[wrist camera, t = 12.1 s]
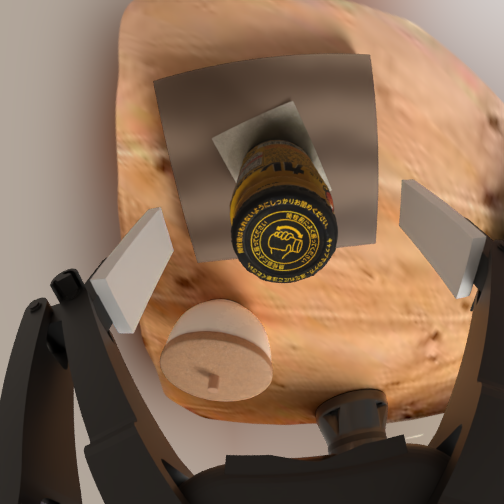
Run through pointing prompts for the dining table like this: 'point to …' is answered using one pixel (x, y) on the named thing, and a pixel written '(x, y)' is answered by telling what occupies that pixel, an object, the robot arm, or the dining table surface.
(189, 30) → the dining table surface
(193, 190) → the grey flat square piece
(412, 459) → the robot arm
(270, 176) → the condiment
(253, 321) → the lidded bowl
